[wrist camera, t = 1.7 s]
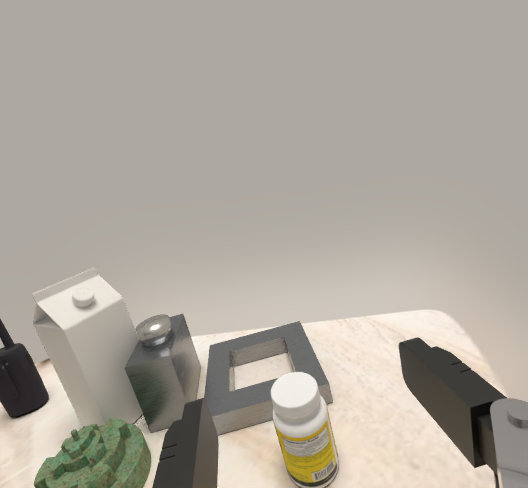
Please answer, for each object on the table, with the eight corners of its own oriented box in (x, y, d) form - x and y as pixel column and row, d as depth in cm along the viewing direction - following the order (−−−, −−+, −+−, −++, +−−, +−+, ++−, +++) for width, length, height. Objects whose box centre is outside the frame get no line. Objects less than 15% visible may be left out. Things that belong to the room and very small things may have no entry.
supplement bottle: (295, 436, 30) (277, 366, 28) (342, 444, 28) (327, 369, 26) (279, 485, 26) (257, 406, 24) (334, 498, 24) (315, 414, 22)
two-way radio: (54, 393, 47) (12, 307, 43) (43, 413, 43) (-5, 321, 39) (15, 407, 46) (-32, 321, 42) (-1, 429, 42) (-54, 336, 38)
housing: (143, 456, 32) (106, 370, 29) (169, 371, 46) (145, 307, 43) (332, 402, 33) (314, 313, 30) (302, 335, 47) (288, 269, 44)
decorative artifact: (171, 454, 32) (113, 432, 37) (150, 400, 30) (91, 384, 35) (80, 571, 23) (21, 522, 28) (43, 506, 22) (-13, 465, 27)
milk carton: (82, 427, 39) (17, 293, 34) (129, 387, 44) (79, 267, 39) (114, 443, 35) (47, 294, 30) (161, 397, 41) (111, 266, 36)
